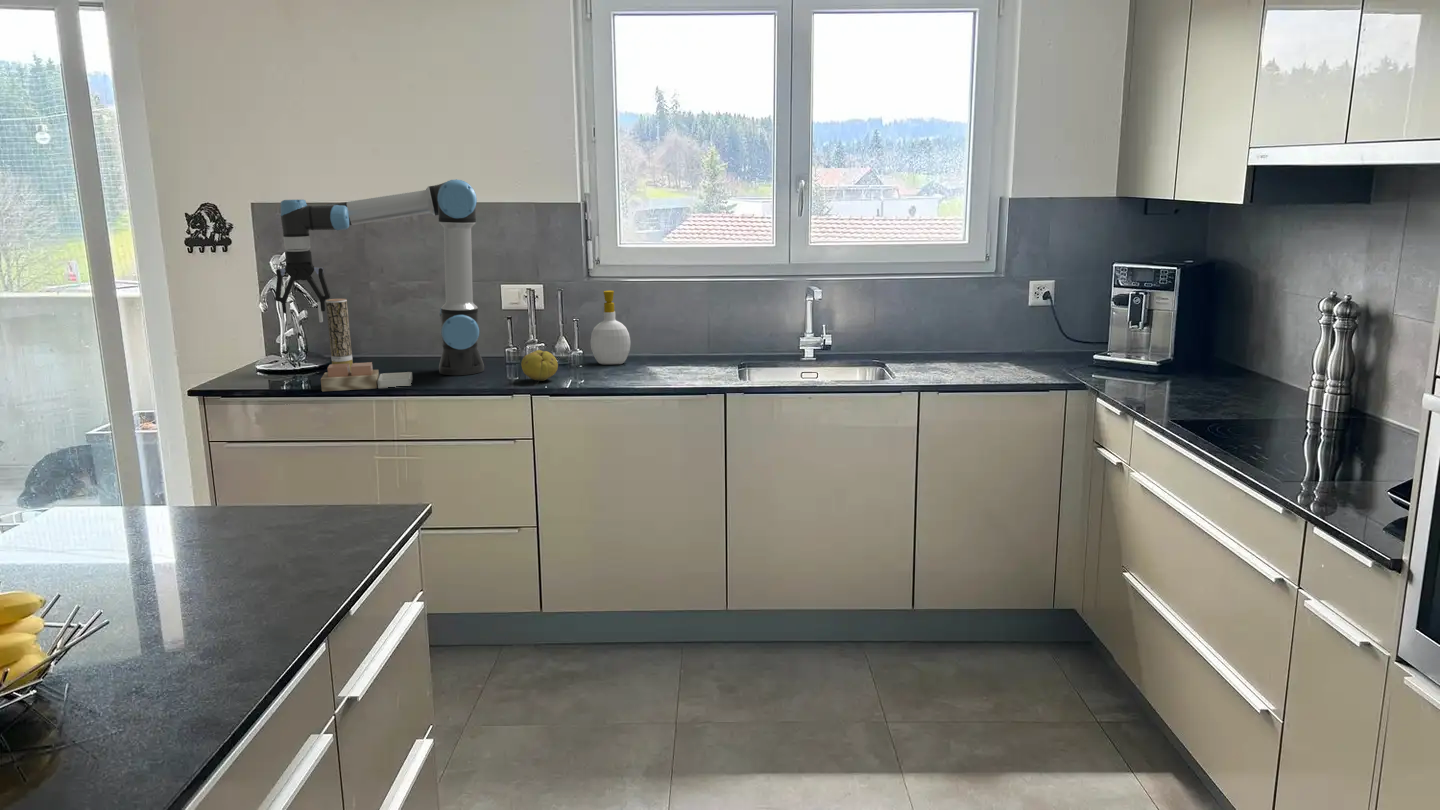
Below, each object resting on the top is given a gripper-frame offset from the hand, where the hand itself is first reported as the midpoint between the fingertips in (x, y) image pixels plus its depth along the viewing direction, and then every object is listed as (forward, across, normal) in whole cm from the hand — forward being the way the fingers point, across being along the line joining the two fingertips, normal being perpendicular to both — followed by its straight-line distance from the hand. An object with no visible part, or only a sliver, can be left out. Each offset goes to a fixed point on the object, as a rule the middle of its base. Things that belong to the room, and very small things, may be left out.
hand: (305, 322), depth 317 cm
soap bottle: (+22, -98, -14) cm, 102 cm away
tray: (+21, -26, 0) cm, 33 cm away
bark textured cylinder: (+22, -6, -27) cm, 35 cm away
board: (+21, -12, 0) cm, 24 cm away
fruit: (+22, -72, +9) cm, 75 cm away
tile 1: (+17, -8, 0) cm, 19 cm away
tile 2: (+17, -16, 0) cm, 23 cm away
